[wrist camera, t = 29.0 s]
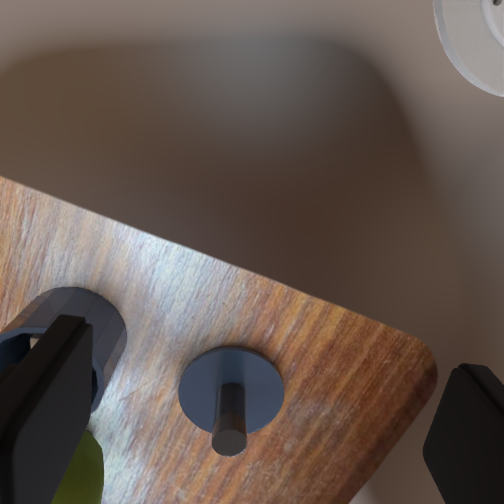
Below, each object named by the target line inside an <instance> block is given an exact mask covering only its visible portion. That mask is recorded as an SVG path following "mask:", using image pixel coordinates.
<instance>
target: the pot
mask: <svg viewBox="0 0 504 504" xmlns="http://www.w3.org/2000/svg"><path fill="white" fill-rule="evenodd" d="M60 314H65V315H73V316H81V317H85V319H86V323H90V324H92V325H93V352H92V392H91V414H92V413H93V412H94V411H95V410H97V409H98V407H99V406H100V403H101V401H102V399H103V397H104V395H105V393H106V390H107V388H108V386H109V384H110V382H111V379H112V377H113V375H114V373H115V371H116V369H117V366H118V364H119V362H120V360H121V357H122V355H123V352H124V350H125V347H126V342H127V332H126V327H125V324H124V321H123V319H122V317H121V315H120V314H119V312H118V311H117V309H116V308H115V307H114V306H113V305H112V304H111V303H110V302H109V301H107V300H106V299H105V298H103V297H102V296H100V295H98V294H96V293H94V292H92V291H89V290H86V289H82V288H77V287H60V288H55V289H51V290H48V291H46V292H44V293H42V294H41V295H39V296H37V297H36V298H35V299H34V300H33V301H32V302H31V303H30V304H29V305H28V306H27V307H26V308H25V309H24V310H23V311H22V312H21V313H20V314H19V315H18V316H17V317H16V318H15V319H14V320H13V321H12V322H11V323H10V324H9V325H8V326H7V327H6V328H5V329H4V330H3V331H2V332H0V374H1V373H2V372H3V370H4V369H5V368H6V367H8V366H9V365H11V364H19V363H20V362H21V360H22V359H23V358H24V357H25V356H26V354H27V353H28V352H29V351H30V350H31V344H30V338H31V337H32V336H33V334H34V333H45V331H46V330H47V329H48V328H49V327H50V325H51V324H52V323H53V322H54V321H55V319H56V318H57V317H58V316H59V315H60ZM91 414H90V415H91Z"/></svg>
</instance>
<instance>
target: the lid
mask: <svg viewBox="0 0 504 504" xmlns="http://www.w3.org/2000/svg"><path fill="white" fill-rule="evenodd" d="M178 396H179V402H180V405H181V407H182V410H183V411H184V413H185V415H186V416H187V417H188V418H189V419H190V421H192V422H193V423H194V424H195V425H197V426H198V427H199V428H201V429H203V430H205V431H207V432H210V433H212V447H213V449H214V450H215V451H216V452H217V453H218V454H220V455H222V456H226V457H233V456H237V455H239V454H241V453H242V452H243V451H244V450H245V449H246V447H247V434H250V433H253V432H255V431H258V430H259V429H261V428H263V427H265V426H266V425H267V424H269V423H270V422H271V421H272V420H273V419H274V418H275V417H276V415H277V414H278V412H279V410H280V408H281V406H282V403H283V399H284V386H283V381H282V378H281V375H280V373H279V371H278V370H277V368H276V367H275V366H274V364H273V363H272V362H271V361H270V360H268V359H267V358H266V357H264V356H263V355H261V354H259V353H257V352H255V351H252V350H249V349H246V348H240V347H222V348H217V349H213V350H210V351H208V352H205V353H203V354H202V355H200V356H198V357H197V358H196V359H194V360H193V361H192V362H191V363H190V364H189V365H188V366H187V368H186V369H185V371H184V373H183V374H182V377H181V380H180V384H179V390H178Z"/></svg>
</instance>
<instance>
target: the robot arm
mask: <svg viewBox="0 0 504 504" xmlns="http://www.w3.org/2000/svg"><path fill="white" fill-rule="evenodd" d="M481 6H482V11H483V14H484V17H485V21H486V24H487V26H488V28H489V29H490V31H491V33H492V34H493V36H494V38H495V39H496V40H497V41H498V42H499V43H500V44H501V45H502V46H503V47H504V0H494V3H492V0H481ZM92 352H93V325H92V324H90V323H86V319H85V317H81V316H73V315H65V314H60V315H59V316H58V317H57V318H56V319H55V321H54V322H53V323H52V324H51V325H50V327H49V328H48V329H47V330H46V331H45V333H44V334H43V335H42V336H41V338H40V339H39V340H38V341H37V342H36V344H35V345H34V346H33V347H32V348H31V350H30V351H29V352H28V353H27V354H26V356H25V357H24V358H23V359H22V360H21V362H20V363H19V364H11V365H9V366H8V367H6V368H5V369H4V370H3V372H2V373H1V374H0V504H51V502H52V500H53V498H54V496H55V494H56V492H57V489H58V487H59V485H60V483H61V481H62V479H63V477H64V474H65V472H66V470H67V468H68V466H69V464H70V462H71V460H72V457H73V455H74V453H75V451H76V449H77V447H78V445H79V442H80V440H81V438H82V436H83V434H84V432H85V430H86V427H87V425H88V422H89V419H90V414H91V392H92ZM423 457H424V460H425V463H426V465H427V467H428V469H429V471H430V473H431V475H432V477H433V479H434V481H435V483H436V485H437V487H438V489H439V491H440V493H441V495H442V497H443V499H444V501H445V503H446V504H504V385H503V384H502V383H501V382H500V380H499V379H498V378H497V377H496V376H495V375H494V374H493V373H492V371H491V370H490V369H489V368H488V367H486V366H483V365H474V364H466V363H463V364H460V365H459V366H458V368H454V369H453V370H452V372H451V374H450V377H449V379H448V382H447V385H446V387H445V390H444V393H443V396H442V398H441V401H440V403H439V406H438V409H437V411H436V414H435V416H434V419H433V422H432V425H431V427H430V430H429V432H428V435H427V438H426V440H425V443H424V446H423Z"/></svg>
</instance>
